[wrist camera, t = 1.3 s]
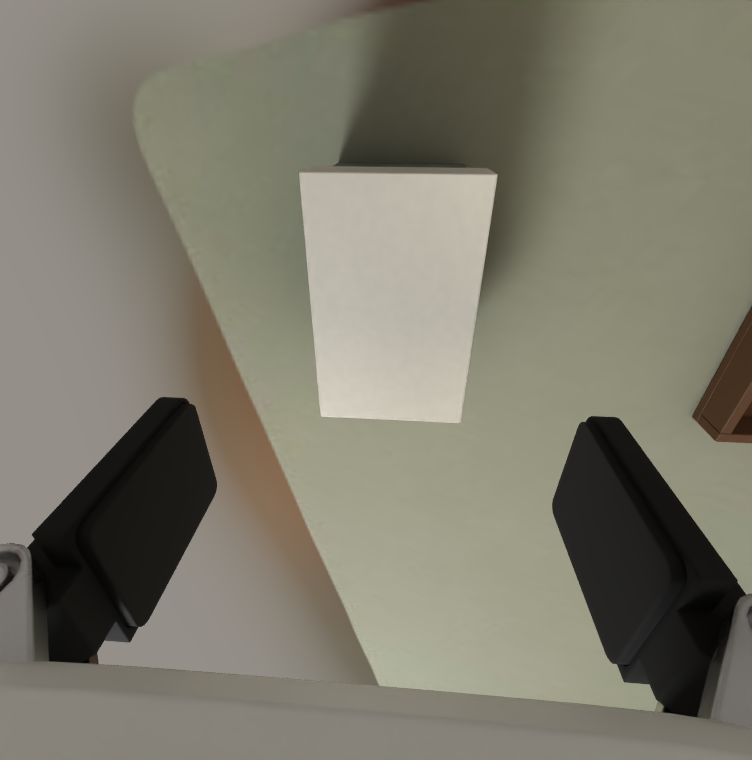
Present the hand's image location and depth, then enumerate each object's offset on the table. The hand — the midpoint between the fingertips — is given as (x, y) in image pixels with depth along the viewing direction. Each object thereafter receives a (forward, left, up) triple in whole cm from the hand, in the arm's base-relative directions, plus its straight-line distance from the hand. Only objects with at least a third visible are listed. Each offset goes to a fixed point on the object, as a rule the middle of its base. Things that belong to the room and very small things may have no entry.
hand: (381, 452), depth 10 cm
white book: (0, 0, -9) cm, 9 cm away
